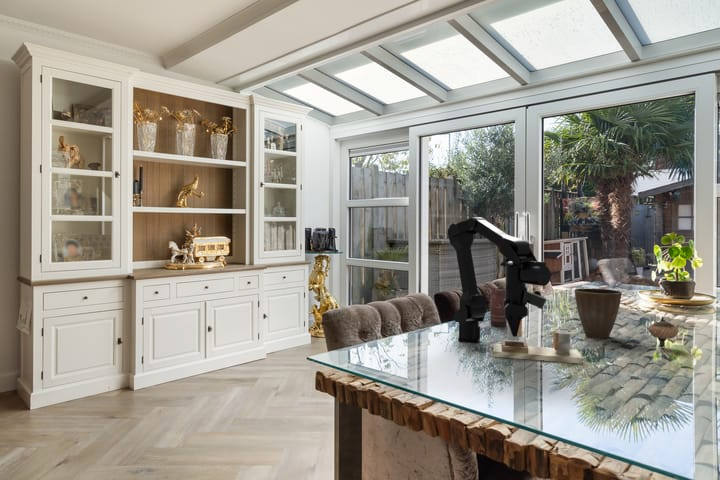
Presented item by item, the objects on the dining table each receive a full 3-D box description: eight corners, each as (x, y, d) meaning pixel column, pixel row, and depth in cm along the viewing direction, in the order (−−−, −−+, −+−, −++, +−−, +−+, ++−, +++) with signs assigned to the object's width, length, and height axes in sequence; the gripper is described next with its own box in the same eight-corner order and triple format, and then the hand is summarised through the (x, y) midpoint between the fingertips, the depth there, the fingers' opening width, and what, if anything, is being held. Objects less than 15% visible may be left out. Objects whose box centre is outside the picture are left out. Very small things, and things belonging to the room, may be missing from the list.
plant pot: (573, 338, 167) (575, 291, 167) (572, 330, 181) (573, 287, 181) (623, 342, 162) (624, 294, 161) (618, 333, 176) (619, 289, 175)
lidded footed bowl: (680, 347, 156) (681, 316, 155) (674, 352, 150) (675, 320, 149) (650, 343, 161) (651, 313, 161) (644, 347, 155) (645, 316, 155)
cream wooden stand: (493, 356, 142) (493, 330, 142) (493, 348, 152) (493, 324, 152) (582, 363, 136) (583, 336, 136) (576, 354, 145) (577, 329, 145)
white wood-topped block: (508, 340, 143) (508, 319, 143) (507, 336, 148) (508, 316, 148) (521, 341, 142) (522, 320, 142) (520, 337, 147) (521, 317, 147)
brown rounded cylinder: (508, 327, 185) (508, 290, 185) (490, 326, 186) (491, 289, 186) (506, 324, 191) (507, 288, 191) (489, 323, 192) (490, 287, 192)
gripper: (547, 287, 134) (546, 343, 134) (541, 280, 152) (540, 330, 152) (505, 285, 137) (504, 340, 137) (504, 278, 155) (503, 327, 155)
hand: (514, 334), depth 145 cm, fingers closed on white wood-topped block, 5 cm apart
